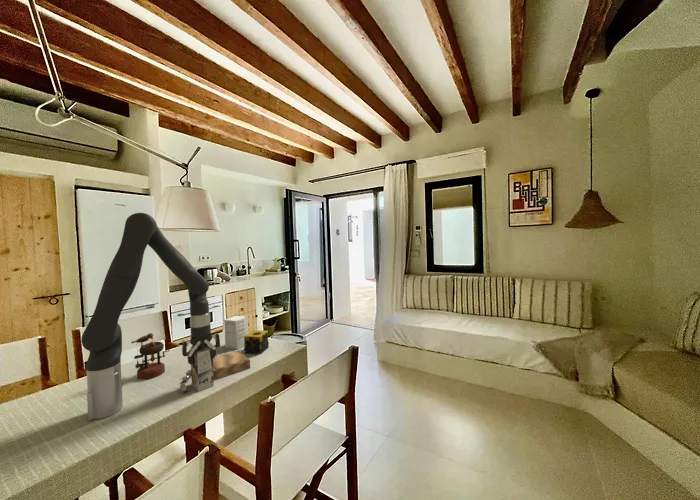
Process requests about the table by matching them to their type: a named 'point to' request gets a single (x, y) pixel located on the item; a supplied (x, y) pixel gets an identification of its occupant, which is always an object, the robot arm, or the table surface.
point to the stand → (229, 364)
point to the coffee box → (202, 368)
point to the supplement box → (235, 331)
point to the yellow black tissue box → (256, 342)
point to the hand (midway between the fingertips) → (202, 361)
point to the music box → (151, 348)
